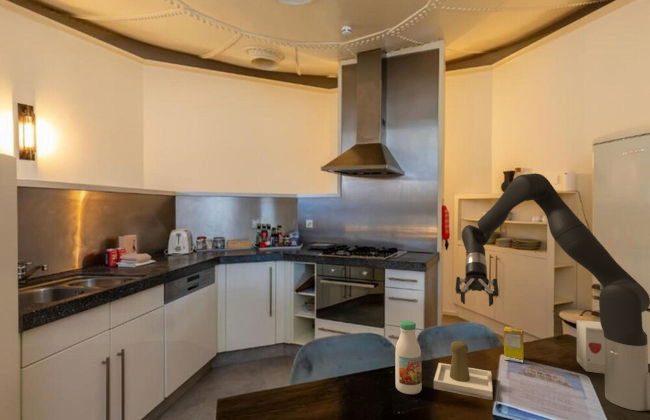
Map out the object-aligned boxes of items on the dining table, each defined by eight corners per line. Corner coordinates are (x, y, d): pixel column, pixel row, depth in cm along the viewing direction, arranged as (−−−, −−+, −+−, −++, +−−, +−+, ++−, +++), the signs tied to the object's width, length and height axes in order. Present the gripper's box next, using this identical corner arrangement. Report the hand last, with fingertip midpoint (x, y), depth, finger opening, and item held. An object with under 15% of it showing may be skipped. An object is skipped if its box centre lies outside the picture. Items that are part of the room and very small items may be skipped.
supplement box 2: (585, 371, 114) (584, 326, 114) (576, 361, 122) (575, 319, 122) (619, 376, 111) (617, 329, 111) (607, 364, 119) (606, 321, 119)
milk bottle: (390, 389, 103) (390, 322, 104) (403, 380, 109) (403, 317, 109) (413, 398, 98) (413, 328, 98) (426, 388, 104) (425, 322, 104)
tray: (491, 378, 109) (491, 371, 109) (492, 400, 96) (492, 391, 97) (439, 369, 116) (438, 362, 116) (433, 388, 103) (433, 380, 103)
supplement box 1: (523, 358, 125) (523, 328, 125) (523, 364, 120) (522, 333, 120) (505, 354, 128) (505, 325, 128) (504, 360, 123) (503, 330, 123)
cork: (466, 383, 104) (466, 347, 104) (446, 377, 108) (446, 343, 108) (472, 376, 109) (471, 341, 109) (453, 371, 113) (452, 337, 113)
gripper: (455, 260, 132) (454, 296, 121) (496, 261, 126) (499, 299, 115) (456, 272, 136) (456, 307, 125) (496, 274, 130) (499, 311, 120)
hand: (476, 303), depth 120 cm, fingers open, 8 cm apart
